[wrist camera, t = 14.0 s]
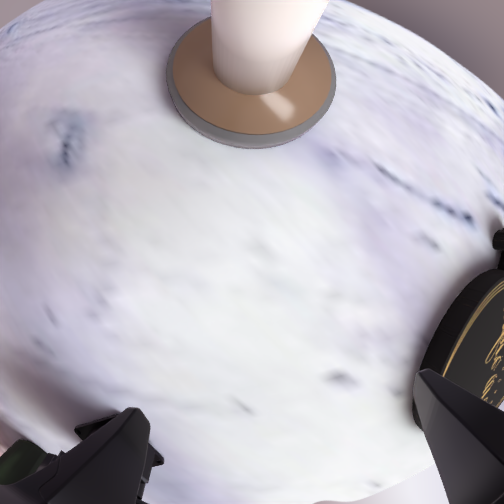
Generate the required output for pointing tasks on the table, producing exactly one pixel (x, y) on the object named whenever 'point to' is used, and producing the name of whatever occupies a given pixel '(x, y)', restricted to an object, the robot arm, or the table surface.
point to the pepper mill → (260, 41)
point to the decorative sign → (473, 337)
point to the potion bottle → (20, 462)
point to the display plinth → (247, 106)
